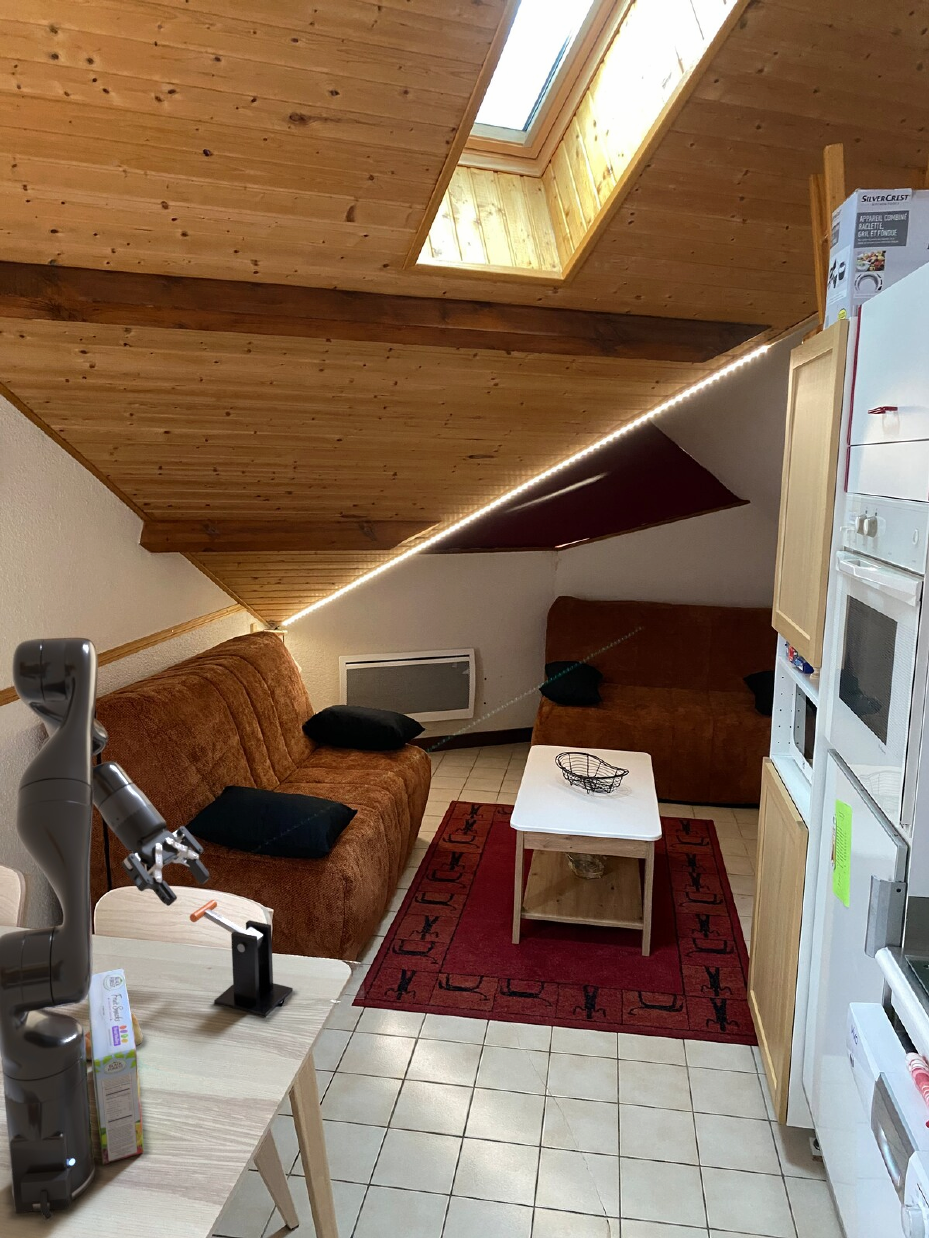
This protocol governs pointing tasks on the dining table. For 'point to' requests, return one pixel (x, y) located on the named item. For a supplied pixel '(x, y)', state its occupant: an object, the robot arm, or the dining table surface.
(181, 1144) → the dining table surface
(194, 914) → the lever
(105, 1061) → the snack box
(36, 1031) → the robot arm
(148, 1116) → the dining table surface
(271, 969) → the bracket
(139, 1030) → the pastry
